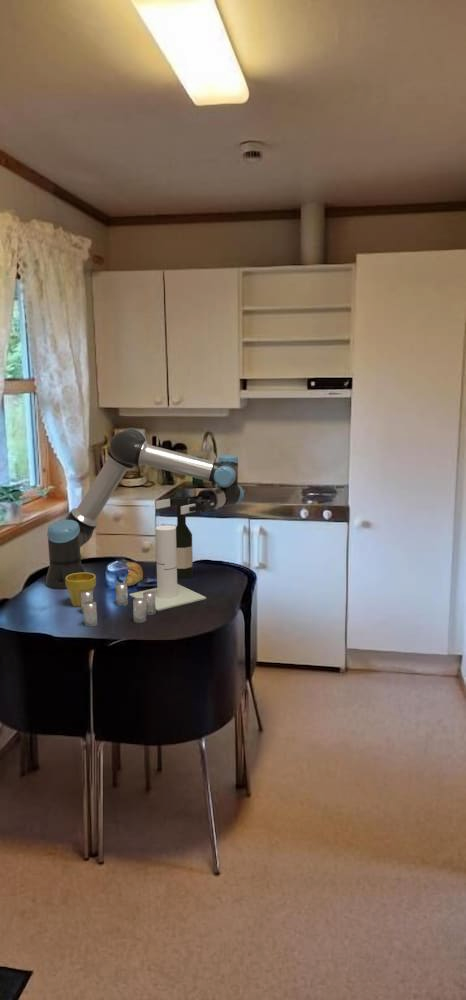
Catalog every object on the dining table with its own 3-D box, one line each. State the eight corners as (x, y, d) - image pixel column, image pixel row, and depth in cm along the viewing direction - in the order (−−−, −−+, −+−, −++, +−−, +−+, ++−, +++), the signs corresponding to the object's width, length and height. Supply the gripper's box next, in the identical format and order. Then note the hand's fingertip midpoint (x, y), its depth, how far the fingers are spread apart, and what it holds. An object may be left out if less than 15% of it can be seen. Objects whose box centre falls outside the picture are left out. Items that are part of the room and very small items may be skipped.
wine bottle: (178, 571, 272) (177, 498, 266) (196, 574, 268) (195, 500, 262) (168, 577, 264) (166, 502, 259) (186, 580, 261) (185, 504, 255)
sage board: (129, 595, 244) (129, 594, 243) (176, 584, 255) (176, 583, 255) (157, 611, 228) (157, 609, 228) (206, 598, 240) (206, 597, 239)
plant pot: (102, 603, 236) (101, 576, 234) (76, 610, 229) (74, 583, 227) (87, 596, 243) (85, 570, 241) (61, 603, 236) (59, 576, 234)
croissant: (137, 596, 253) (146, 578, 252) (112, 585, 251) (121, 567, 250) (138, 578, 274) (146, 561, 272) (115, 568, 272) (124, 550, 270)
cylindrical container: (162, 591, 246) (160, 524, 241) (180, 593, 244) (179, 526, 239) (154, 597, 239) (152, 529, 234) (172, 599, 237) (170, 530, 232)
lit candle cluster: (68, 613, 226) (67, 594, 224) (132, 599, 240) (131, 580, 238) (97, 634, 208) (96, 612, 207) (164, 616, 222) (163, 596, 221)
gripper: (234, 513, 246) (192, 523, 231) (188, 504, 263) (146, 513, 248) (234, 493, 245) (192, 502, 230) (187, 485, 262) (145, 493, 247)
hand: (168, 507), depth 239 cm, fingers open, 13 cm apart
